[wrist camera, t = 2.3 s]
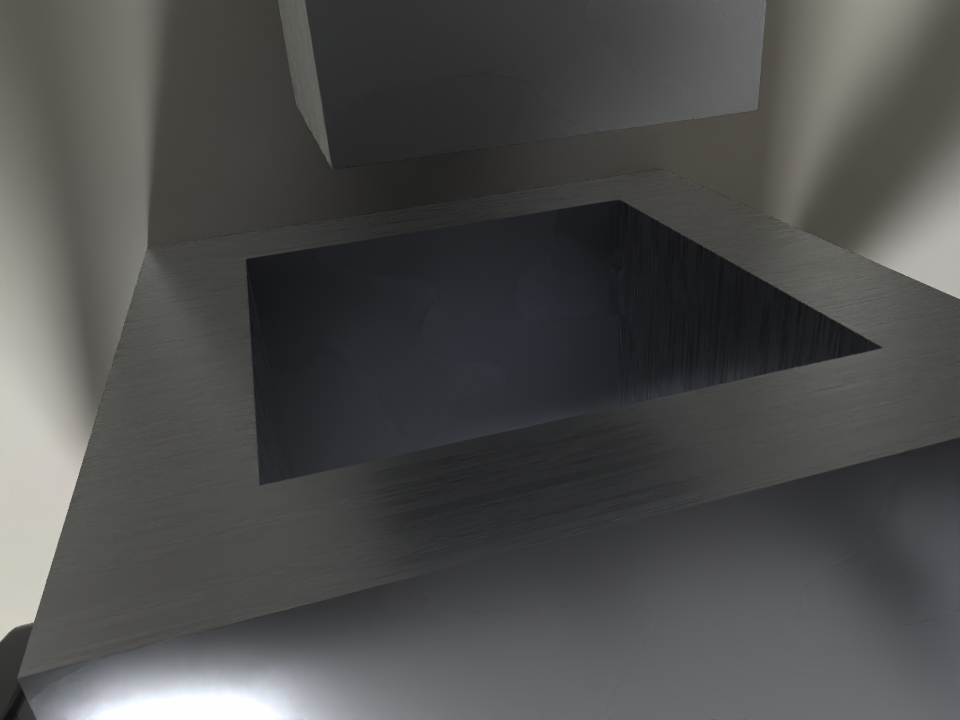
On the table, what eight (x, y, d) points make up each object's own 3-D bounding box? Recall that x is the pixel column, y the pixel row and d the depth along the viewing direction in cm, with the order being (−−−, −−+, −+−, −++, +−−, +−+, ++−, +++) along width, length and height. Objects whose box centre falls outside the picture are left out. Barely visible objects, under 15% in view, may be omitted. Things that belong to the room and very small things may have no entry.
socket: (646, 595, 13) (930, 1013, 8) (274, 698, 12) (313, 1284, 6) (659, 168, 10) (1158, 386, 4) (147, 245, 8) (18, 678, 3)
